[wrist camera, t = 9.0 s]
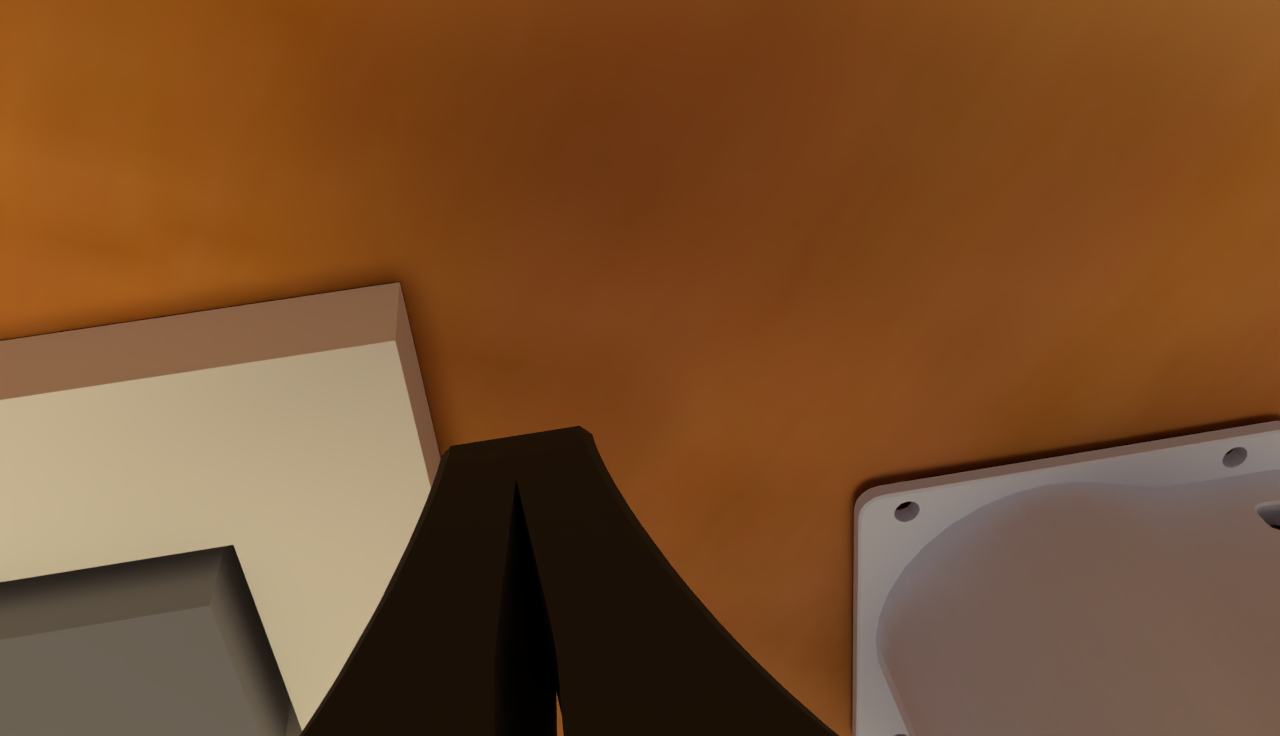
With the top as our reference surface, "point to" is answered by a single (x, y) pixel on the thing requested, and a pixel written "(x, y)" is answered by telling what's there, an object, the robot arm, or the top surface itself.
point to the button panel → (228, 458)
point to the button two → (139, 652)
